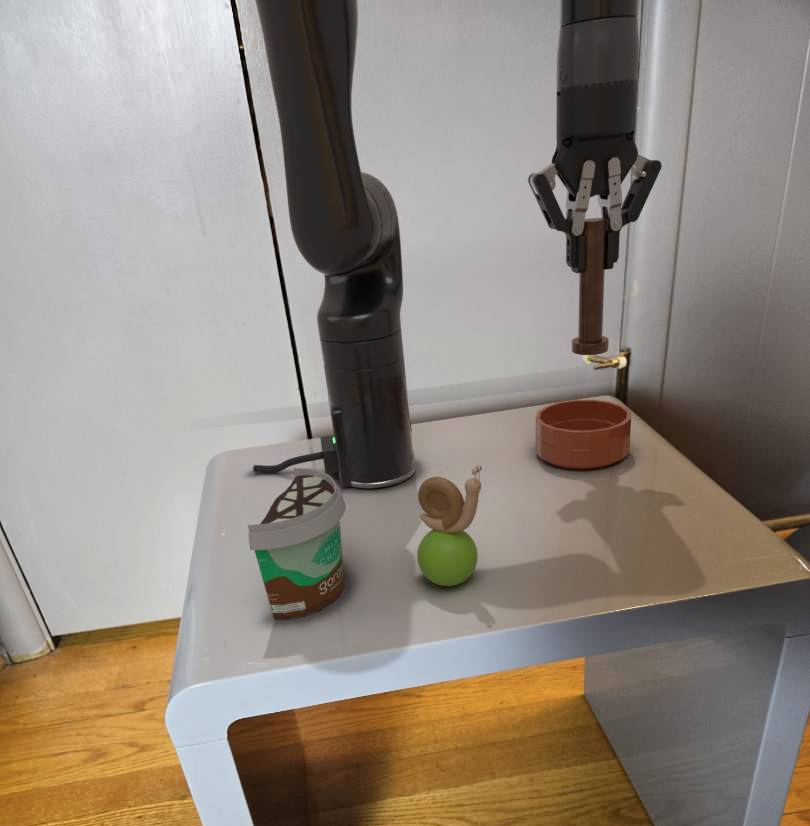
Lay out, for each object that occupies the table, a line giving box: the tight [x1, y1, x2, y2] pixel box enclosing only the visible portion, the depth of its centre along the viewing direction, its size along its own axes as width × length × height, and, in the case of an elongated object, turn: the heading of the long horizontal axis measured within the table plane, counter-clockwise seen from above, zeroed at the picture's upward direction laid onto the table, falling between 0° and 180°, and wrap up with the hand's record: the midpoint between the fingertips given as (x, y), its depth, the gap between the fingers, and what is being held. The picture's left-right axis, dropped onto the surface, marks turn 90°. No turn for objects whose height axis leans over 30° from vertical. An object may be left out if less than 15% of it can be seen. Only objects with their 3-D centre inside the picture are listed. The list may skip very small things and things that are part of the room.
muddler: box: [571, 217, 610, 356], centre depth 80 cm, size 4×4×14 cm
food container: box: [247, 467, 347, 620], centre depth 66 cm, size 12×6×10 cm, turn 168°
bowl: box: [535, 399, 632, 470], centre depth 89 cm, size 11×11×5 cm
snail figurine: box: [416, 464, 483, 587], centre depth 65 cm, size 5×6×12 cm
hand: (591, 269), depth 79 cm, fingers closed on muddler, 2 cm apart
